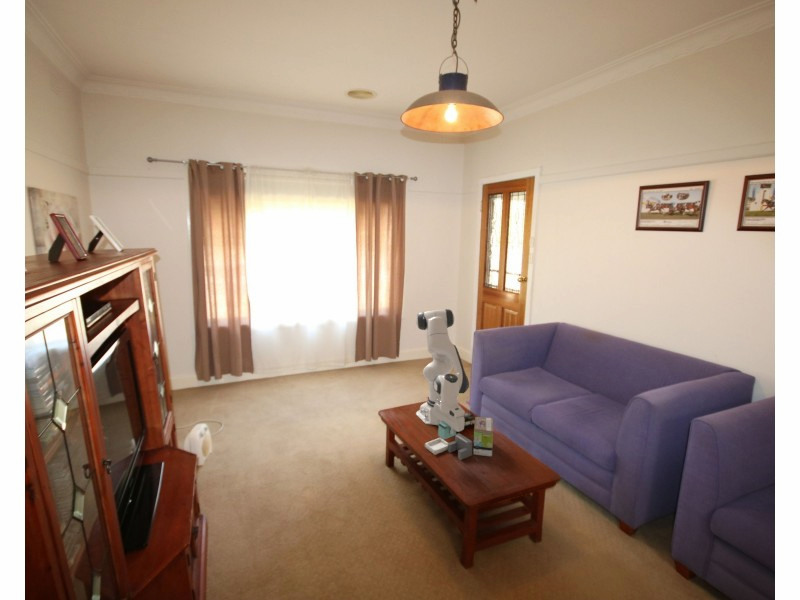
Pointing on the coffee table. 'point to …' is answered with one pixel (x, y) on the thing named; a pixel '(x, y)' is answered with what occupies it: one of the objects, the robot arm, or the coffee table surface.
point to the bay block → (461, 446)
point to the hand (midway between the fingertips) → (447, 430)
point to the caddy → (445, 431)
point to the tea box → (483, 436)
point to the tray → (437, 446)
